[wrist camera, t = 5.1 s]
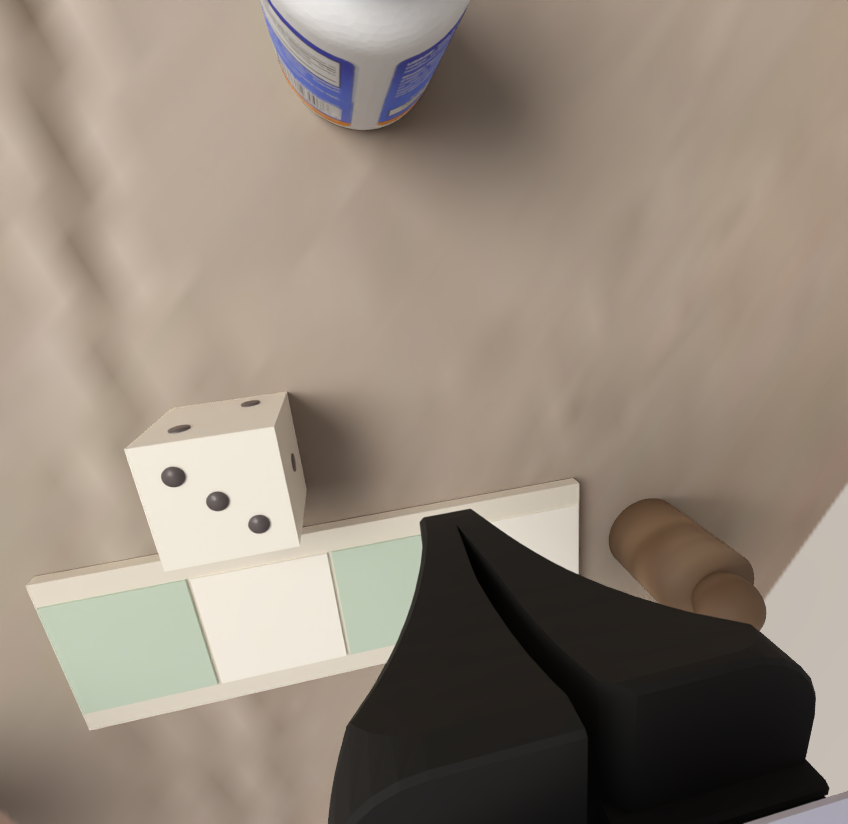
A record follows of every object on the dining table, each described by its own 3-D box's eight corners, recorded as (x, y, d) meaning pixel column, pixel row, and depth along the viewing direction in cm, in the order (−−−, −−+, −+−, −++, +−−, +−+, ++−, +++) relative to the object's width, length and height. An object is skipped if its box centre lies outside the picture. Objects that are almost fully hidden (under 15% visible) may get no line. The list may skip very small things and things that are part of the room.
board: (573, 610, 25) (579, 620, 25) (95, 718, 22) (88, 733, 21) (573, 477, 23) (580, 484, 22) (34, 576, 19) (23, 587, 19)
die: (308, 488, 21) (301, 546, 16) (200, 507, 20) (163, 572, 16) (288, 389, 19) (274, 425, 15) (171, 406, 19) (122, 448, 14)
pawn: (675, 557, 26) (791, 656, 19) (608, 572, 25) (703, 678, 19) (680, 492, 24) (806, 574, 18) (609, 506, 24) (712, 596, 17)
